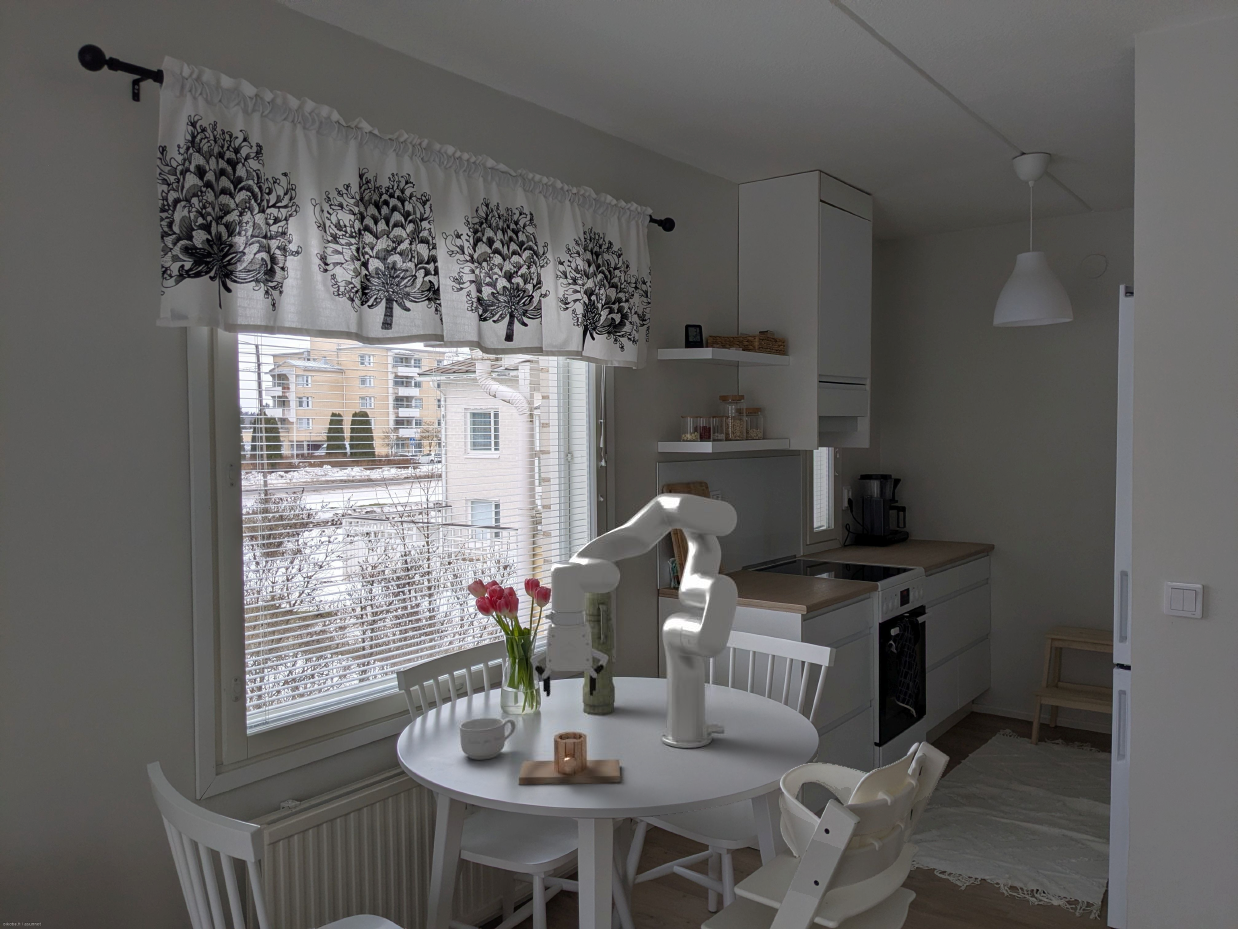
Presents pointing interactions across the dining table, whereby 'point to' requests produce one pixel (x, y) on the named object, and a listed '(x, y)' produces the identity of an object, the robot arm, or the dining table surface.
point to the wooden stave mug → (570, 753)
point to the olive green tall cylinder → (604, 643)
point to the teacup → (484, 737)
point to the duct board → (546, 774)
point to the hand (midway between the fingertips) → (570, 694)
